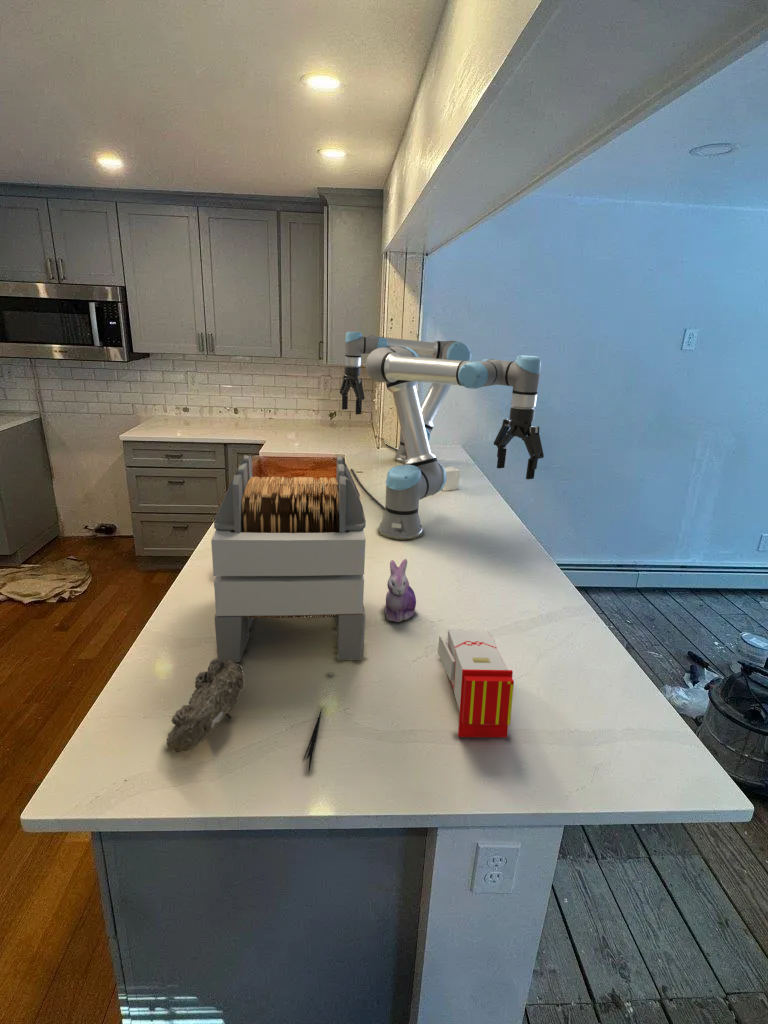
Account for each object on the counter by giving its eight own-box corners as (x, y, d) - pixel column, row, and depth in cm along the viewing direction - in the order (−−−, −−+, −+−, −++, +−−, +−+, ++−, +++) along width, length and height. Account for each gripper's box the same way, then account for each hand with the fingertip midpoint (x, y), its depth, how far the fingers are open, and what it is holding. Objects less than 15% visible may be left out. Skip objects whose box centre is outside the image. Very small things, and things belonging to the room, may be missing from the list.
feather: (331, 679, 122) (336, 673, 122) (307, 777, 96) (313, 769, 95) (324, 675, 122) (329, 669, 121) (298, 772, 95) (304, 764, 95)
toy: (488, 613, 130) (523, 677, 101) (484, 667, 133) (517, 744, 104) (435, 612, 130) (455, 676, 101) (432, 666, 133) (451, 743, 103)
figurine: (392, 627, 141) (395, 572, 136) (374, 608, 149) (376, 556, 144) (425, 619, 145) (429, 566, 140) (405, 601, 154) (408, 550, 149)
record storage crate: (236, 591, 155) (228, 445, 141) (355, 589, 159) (359, 447, 145) (214, 665, 123) (202, 486, 109) (364, 661, 127) (370, 487, 113)
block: (445, 491, 250) (446, 471, 247) (437, 487, 254) (438, 468, 251) (458, 489, 253) (459, 469, 250) (450, 485, 258) (451, 466, 255)
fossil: (192, 660, 117) (244, 628, 112) (224, 691, 120) (276, 661, 115) (142, 746, 98) (202, 712, 93) (182, 779, 101) (242, 748, 96)
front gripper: (562, 413, 168) (551, 482, 175) (504, 400, 188) (497, 462, 195) (543, 415, 164) (534, 485, 171) (487, 401, 184) (480, 464, 191)
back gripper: (373, 369, 257) (371, 415, 264) (347, 363, 277) (345, 407, 284) (358, 369, 253) (357, 416, 260) (333, 363, 273) (332, 407, 280)
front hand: (514, 473), depth 183 cm, fingers open, 13 cm apart
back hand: (351, 411), depth 272 cm, fingers open, 13 cm apart
